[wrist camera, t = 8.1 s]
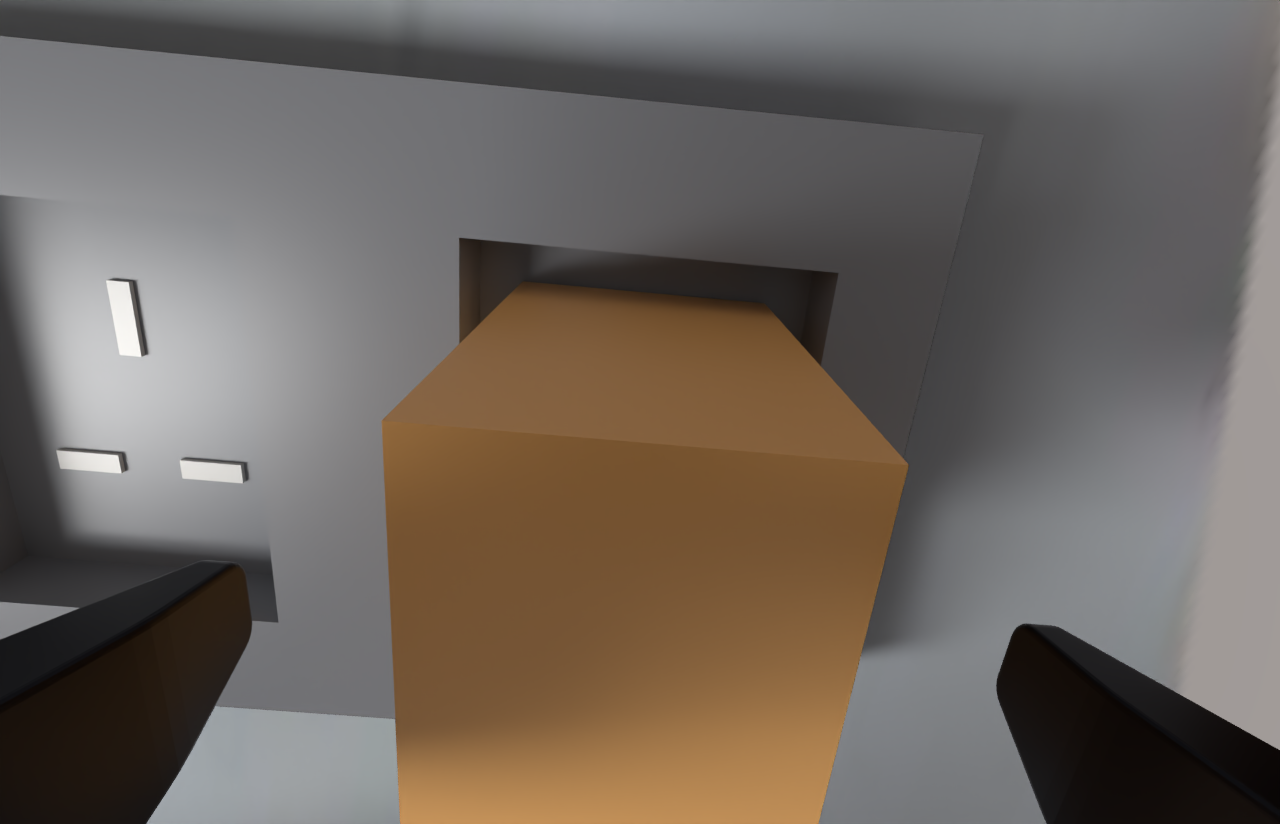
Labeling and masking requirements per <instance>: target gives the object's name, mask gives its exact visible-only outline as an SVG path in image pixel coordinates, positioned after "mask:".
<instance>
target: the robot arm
mask: <svg viewBox="0 0 1280 824" xmlns="http://www.w3.org/2000/svg"><path fill="white" fill-rule="evenodd" d="M251 632H252V615H251V608H250V600H249V593H248V585H247V578H246V573H245V570H244V568H243V567H242V566H241V565H240V564H238V563H236V562H226V561H213V560H202V561H198V562H195V563H193V564H190V565H188V566H185V567H183V568H180V569H178V570H175V571H172V572H170V573H167V574H165V575H162V576H160V577H157V578H155V579H152V580H150V581H147V582H145V583H142V584H140V585H137V586H134V587H132V588H129V589H127V590H124V591H122V592H119V593H117V594H114V595H112V596H109V597H107V598H104V599H102V600H99V601H96V602H94V603H91V604H89V605H86V606H84V607H81V608H79V609H76V610H74V611H71V612H69V613H66V614H64V615H61V616H58V617H56V618H53V619H51V620H48V621H46V622H43V623H41V624H38V625H36V626H33V627H31V628H28V629H26V630H23V631H20V632H18V633H15V634H13V635H10V636H8V637H5V638H3V639H0V824H146V823H147V821H148V820H149V818H150V817H151V815H152V814H153V812H154V811H155V809H156V808H157V806H158V805H159V803H160V802H161V800H162V799H163V797H164V796H165V794H166V792H167V791H168V789H169V788H170V786H171V785H172V783H173V781H174V780H175V778H176V777H177V775H178V773H179V772H180V770H181V768H182V767H183V765H184V763H185V761H186V760H187V758H188V756H189V754H190V752H191V751H192V749H193V747H194V745H195V743H196V741H197V739H198V738H199V736H200V734H201V732H202V730H203V728H204V726H205V724H206V722H207V721H208V719H209V717H210V715H211V713H212V711H213V709H214V707H215V705H216V703H217V702H218V700H219V698H220V696H221V694H222V692H223V690H224V688H225V686H226V685H227V683H228V681H229V679H230V677H231V675H232V673H233V671H234V669H235V668H236V666H237V664H238V662H239V660H240V658H241V656H242V654H243V652H244V650H245V649H246V647H247V644H248V642H249V639H250V636H251ZM996 687H997V696H998V700H999V703H1000V706H1001V708H1002V711H1003V713H1004V716H1005V719H1006V721H1007V724H1008V726H1009V729H1010V732H1011V734H1012V737H1013V739H1014V742H1015V744H1016V747H1017V750H1018V752H1019V755H1020V757H1021V760H1022V763H1023V765H1024V768H1025V770H1026V773H1027V776H1028V778H1029V781H1030V783H1031V786H1032V788H1033V791H1034V794H1035V796H1036V799H1037V801H1038V804H1039V807H1040V809H1041V811H1042V814H1043V816H1044V819H1045V821H1046V823H1047V824H1280V750H1278V749H1276V748H1274V747H1273V746H1271V745H1269V744H1268V743H1266V742H1264V741H1262V740H1260V739H1258V738H1257V737H1255V736H1253V735H1251V734H1250V733H1248V732H1246V731H1244V730H1242V729H1241V728H1239V727H1237V726H1235V725H1233V724H1232V723H1230V722H1228V721H1226V720H1224V719H1222V718H1221V717H1219V716H1217V715H1216V714H1214V713H1212V712H1210V711H1208V710H1206V709H1205V708H1203V707H1201V706H1199V705H1198V704H1196V703H1194V702H1192V701H1190V700H1189V699H1187V698H1185V697H1183V696H1181V695H1180V694H1178V693H1176V692H1174V691H1172V690H1171V689H1169V688H1167V687H1165V686H1163V685H1162V684H1160V683H1158V682H1156V681H1155V680H1153V679H1151V678H1149V677H1147V676H1146V675H1144V674H1142V673H1140V672H1138V671H1137V670H1135V669H1133V668H1131V667H1129V666H1128V665H1126V664H1124V663H1122V662H1120V661H1119V660H1117V659H1115V658H1113V657H1111V656H1110V655H1108V654H1106V653H1104V652H1102V651H1101V650H1099V649H1097V648H1095V647H1094V646H1092V645H1090V644H1088V643H1086V642H1085V641H1083V640H1081V639H1079V638H1077V637H1076V636H1074V635H1072V634H1070V633H1068V632H1067V631H1065V630H1063V629H1061V628H1059V627H1056V626H1051V625H1037V624H1022V625H1020V626H1018V627H1017V628H1016V629H1015V630H1014V632H1013V634H1012V636H1011V639H1010V642H1009V645H1008V648H1007V651H1006V654H1005V657H1004V660H1003V662H1002V665H1001V668H1000V671H999V674H998V678H997V685H996Z"/></svg>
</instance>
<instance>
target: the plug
mask: <svg viewBox="0 0 1280 824" xmlns="http://www.w3.org/2000/svg"><path fill="white" fill-rule="evenodd" d="M382 442H383V464H384V485H385V507H386V528H387V550H388V571H389V593H390V614H391V636H392V657H393V679H394V700H395V722H396V743H397V765H398V786H399V808H400V824H818V823H819V819H820V815H821V811H822V807H823V803H824V799H825V795H826V791H827V787H828V783H829V779H830V775H831V771H832V767H833V763H834V760H835V756H836V752H837V748H838V744H839V740H840V736H841V732H842V728H843V724H844V720H845V716H846V712H847V708H848V704H849V700H850V696H851V692H852V688H853V684H854V680H855V676H856V672H857V668H858V665H859V661H860V657H861V653H862V649H863V645H864V641H865V637H866V633H867V629H868V625H869V621H870V617H871V613H872V609H873V605H874V601H875V597H876V593H877V589H878V585H879V581H880V577H881V574H882V570H883V566H884V562H885V558H886V554H887V550H888V546H889V542H890V538H891V534H892V530H893V526H894V522H895V518H896V514H897V510H898V506H899V502H900V498H901V494H902V490H903V486H904V482H905V479H906V475H907V471H908V467H909V465H908V463H907V462H906V461H905V460H904V459H903V458H902V457H901V456H900V454H899V453H898V452H897V451H896V450H895V449H894V448H893V447H892V445H891V444H890V443H889V442H888V441H887V440H886V439H885V438H884V437H883V435H882V434H881V433H880V432H879V431H878V430H877V429H876V428H875V426H874V425H873V424H872V423H871V422H870V421H869V420H868V419H867V417H866V416H865V415H864V414H863V413H862V412H861V411H860V410H859V409H858V407H857V406H856V405H855V404H854V403H853V402H852V401H851V400H850V398H849V397H848V396H847V395H846V394H845V393H844V392H843V391H842V389H841V388H840V387H839V386H838V385H837V384H836V383H835V382H834V381H833V379H832V378H831V377H830V376H829V375H828V374H827V373H826V372H825V370H824V369H823V368H822V367H821V366H820V365H819V364H818V363H817V361H816V360H815V359H814V358H813V357H812V356H811V355H810V354H809V353H808V351H807V350H806V349H805V348H804V347H803V346H802V345H801V344H800V342H799V341H798V340H797V339H796V338H795V337H794V336H793V335H792V333H791V332H790V331H789V330H788V329H787V328H786V327H785V326H784V325H783V323H782V322H781V321H780V320H779V319H778V318H777V317H776V316H775V314H774V313H773V312H772V311H771V310H770V309H769V308H768V307H767V306H766V304H765V303H756V302H745V301H734V300H723V299H712V298H701V297H690V296H679V295H668V294H657V293H646V292H635V291H624V290H613V289H602V288H591V287H580V286H569V285H558V284H547V283H536V282H525V281H523V282H522V283H521V284H520V285H519V286H518V287H517V288H515V289H514V290H513V291H512V292H511V293H510V294H509V295H508V296H507V297H506V298H505V299H504V300H503V301H502V302H501V303H500V304H499V305H498V306H497V307H496V308H495V309H494V310H493V311H492V312H491V313H490V314H489V315H488V316H487V317H486V318H485V319H484V320H483V321H482V322H481V323H480V324H479V325H478V326H477V327H476V328H475V329H474V330H473V331H472V332H471V333H470V334H469V335H468V336H467V337H466V338H465V339H464V340H463V341H462V342H461V343H460V344H459V345H458V346H457V347H456V348H455V349H454V350H453V351H452V352H451V353H450V354H449V355H448V356H447V357H446V358H445V359H444V360H442V361H441V362H440V363H439V364H438V365H437V366H436V367H435V368H434V369H433V370H432V371H431V372H430V373H429V374H428V375H427V376H426V377H425V378H424V379H423V380H422V381H421V382H420V383H419V384H418V385H417V386H416V387H415V388H414V389H413V390H412V391H411V392H410V393H409V394H408V395H407V396H406V397H405V398H404V399H403V400H402V401H401V402H400V403H399V404H398V405H397V406H396V407H395V408H394V409H393V410H392V411H391V412H390V413H389V414H388V415H387V416H386V417H385V418H384V419H383V420H382Z"/></svg>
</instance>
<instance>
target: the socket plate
mask: <svg viewBox="0 0 1280 824" xmlns="http://www.w3.org/2000/svg"><path fill="white" fill-rule="evenodd" d="M983 137H984V134H975V133H965V132H955V131H945V130H935V129H925V128H915V127H905V126H895V125H885V124H875V123H865V122H855V121H845V120H835V119H826V118H816V117H806V116H796V115H786V114H776V113H766V112H756V111H746V110H736V109H726V108H716V107H706V106H696V105H686V104H676V103H666V102H656V101H646V100H636V99H626V98H616V97H606V96H596V95H586V94H576V93H566V92H556V91H546V90H536V89H526V88H516V87H506V86H496V85H486V84H476V83H466V82H456V81H446V80H436V79H426V78H416V77H406V76H396V75H386V74H376V73H366V72H356V71H346V70H336V69H326V68H316V67H306V66H296V65H286V64H276V63H266V62H256V61H246V60H236V59H226V58H216V57H206V56H196V55H186V54H176V53H166V52H156V51H146V50H136V49H126V48H116V47H106V46H96V45H86V44H76V43H66V42H56V41H46V40H36V39H26V38H16V37H6V36H0V639H3V638H5V637H8V636H10V635H13V634H15V633H18V632H20V631H23V630H26V629H28V628H31V627H33V626H36V625H38V624H41V623H43V622H46V621H48V620H51V619H53V618H56V617H58V616H61V615H64V614H66V613H69V612H71V611H74V610H76V609H79V608H81V607H84V606H86V605H89V604H91V603H94V602H96V601H99V600H102V599H104V598H107V597H109V596H112V595H114V594H117V593H119V592H122V591H124V590H127V589H129V588H132V587H134V586H137V585H140V584H142V583H145V582H147V581H150V580H152V579H155V578H157V577H160V576H162V575H165V574H167V573H170V572H172V571H175V570H178V569H180V568H183V567H185V566H188V565H190V564H193V563H195V562H198V561H202V560H213V561H226V562H236V563H238V564H240V565H241V566H242V567H243V568H244V570H245V573H246V578H247V585H248V593H249V600H250V608H251V615H252V632H251V636H250V639H249V642H248V644H247V647H246V649H245V650H244V652H243V654H242V656H241V658H240V660H239V662H238V664H237V666H236V668H235V669H234V671H233V673H232V675H231V677H230V679H229V681H228V683H227V685H226V686H225V688H224V690H223V692H222V694H221V696H220V698H219V700H218V702H217V703H216V705H215V706H220V707H234V708H248V709H262V710H277V711H291V712H305V713H319V714H333V715H347V716H361V717H375V718H389V719H395V700H394V679H393V657H392V636H391V614H390V593H389V571H388V550H387V528H386V507H385V485H384V464H383V442H382V420H383V419H384V418H385V417H386V416H387V415H388V414H389V413H390V412H391V411H392V410H393V409H394V408H395V407H396V406H397V405H398V404H399V403H400V402H401V401H402V400H403V399H404V398H405V397H406V396H407V395H408V394H409V393H410V392H411V391H412V390H413V389H414V388H415V387H416V386H417V385H418V384H419V383H420V382H421V381H422V380H423V379H424V378H425V377H426V376H427V375H428V374H429V373H430V372H431V371H432V370H433V369H434V368H435V367H436V366H437V365H438V364H439V363H440V362H441V361H442V360H444V359H445V358H446V357H447V356H448V355H449V354H450V353H451V352H452V351H453V350H454V349H455V348H456V347H457V346H458V345H459V344H460V343H461V342H462V341H463V340H464V339H465V338H466V337H467V336H468V335H469V334H470V333H471V332H472V331H473V330H474V329H475V328H476V327H477V326H478V325H479V324H480V323H481V322H482V321H483V320H484V319H485V318H486V317H487V316H488V315H489V314H490V313H491V312H492V311H493V310H494V309H495V308H496V307H497V306H498V305H499V304H500V303H501V302H502V301H503V300H504V299H505V298H506V297H507V296H508V295H509V294H510V293H511V292H512V291H513V290H514V289H515V288H517V287H518V286H519V285H520V284H521V283H522V282H523V281H525V282H536V283H547V284H558V285H569V286H580V287H591V288H602V289H613V290H624V291H635V292H646V293H657V294H668V295H679V296H690V297H701V298H712V299H723V300H734V301H745V302H756V303H765V304H766V306H767V307H768V308H769V309H770V310H771V311H772V312H773V313H774V314H775V316H776V317H777V318H778V319H779V320H780V321H781V322H782V323H783V325H784V326H785V327H786V328H787V329H788V330H789V331H790V332H791V333H792V335H793V336H794V337H795V338H796V339H797V340H798V341H799V342H800V344H801V345H802V346H803V347H804V348H805V349H806V350H807V351H808V353H809V354H810V355H811V356H812V357H813V358H814V359H815V360H816V361H817V363H818V364H819V365H820V366H821V367H822V368H823V369H824V370H825V372H826V373H827V374H828V375H829V376H830V377H831V378H832V379H833V381H834V382H835V383H836V384H837V385H838V386H839V387H840V388H841V389H842V391H843V392H844V393H845V394H846V395H847V396H848V397H849V398H850V400H851V401H852V402H853V403H854V404H855V405H856V406H857V407H858V409H859V410H860V411H861V412H862V413H863V414H864V415H865V416H866V417H867V419H868V420H869V421H870V422H871V423H872V424H873V425H874V426H875V428H876V429H877V430H878V431H879V432H880V433H881V434H882V435H883V437H884V438H885V439H886V440H887V441H888V442H889V443H890V444H891V445H892V447H893V448H894V449H895V450H896V451H897V452H898V453H899V454H900V456H901V457H902V458H904V454H905V450H906V446H907V442H908V438H909V434H910V430H911V426H912V422H913V418H914V414H915V410H916V406H917V402H918V398H919V394H920V390H921V386H922V382H923V378H924V374H925V370H926V366H927V362H928V358H929V354H930V350H931V346H932V342H933V338H934V334H935V330H936V326H937V322H938V318H939V313H940V309H941V305H942V301H943V297H944V293H945V289H946V285H947V281H948V277H949V273H950V269H951V265H952V261H953V257H954V253H955V249H956V245H957V241H958V237H959V233H960V229H961V225H962V221H963V217H964V213H965V209H966V205H967V201H968V197H969V193H970V189H971V185H972V181H973V177H974V173H975V169H976V165H977V161H978V157H979V153H980V149H981V145H982V141H983Z"/></svg>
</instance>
